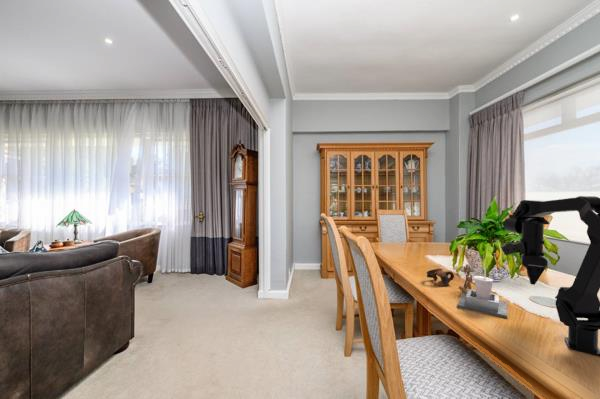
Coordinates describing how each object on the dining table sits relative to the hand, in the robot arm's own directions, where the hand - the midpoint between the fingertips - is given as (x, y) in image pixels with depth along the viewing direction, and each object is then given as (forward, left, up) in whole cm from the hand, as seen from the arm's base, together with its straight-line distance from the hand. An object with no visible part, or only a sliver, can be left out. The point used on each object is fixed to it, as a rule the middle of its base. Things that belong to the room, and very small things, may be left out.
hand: (531, 280), depth 93 cm
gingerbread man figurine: (+17, +20, -13) cm, 29 cm away
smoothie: (+2, +14, -12) cm, 19 cm away
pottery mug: (+22, +32, -13) cm, 41 cm away
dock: (+2, +14, -13) cm, 19 cm away
